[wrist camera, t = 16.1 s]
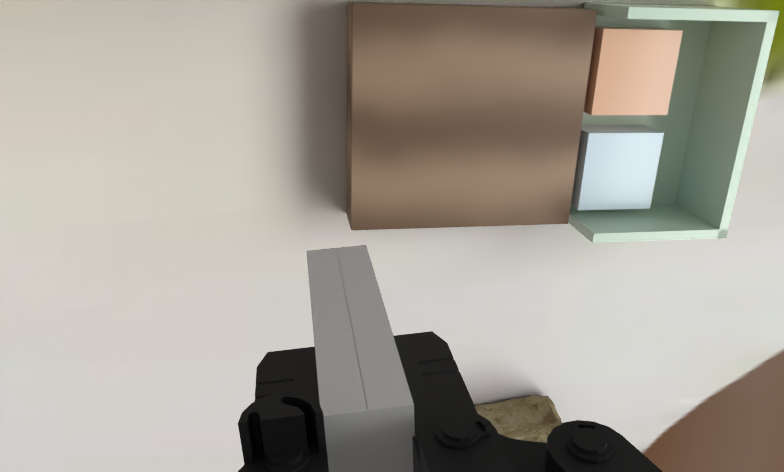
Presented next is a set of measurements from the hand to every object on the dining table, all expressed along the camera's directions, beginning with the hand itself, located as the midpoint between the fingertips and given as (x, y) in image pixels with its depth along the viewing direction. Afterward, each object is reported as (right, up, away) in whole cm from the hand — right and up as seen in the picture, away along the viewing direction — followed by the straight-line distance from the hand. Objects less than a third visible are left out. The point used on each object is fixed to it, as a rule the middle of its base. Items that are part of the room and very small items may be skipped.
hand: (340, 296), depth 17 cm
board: (+5, +9, +24) cm, 27 cm away
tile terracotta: (+16, +12, +24) cm, 31 cm away
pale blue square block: (+15, +6, +27) cm, 31 cm away
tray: (+17, +10, +26) cm, 33 cm away
